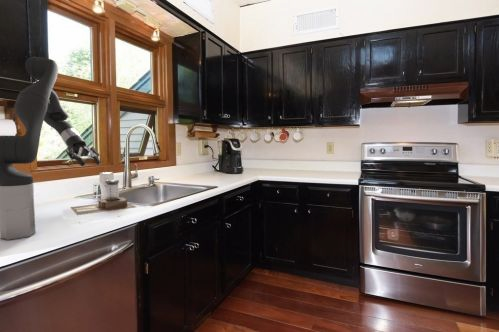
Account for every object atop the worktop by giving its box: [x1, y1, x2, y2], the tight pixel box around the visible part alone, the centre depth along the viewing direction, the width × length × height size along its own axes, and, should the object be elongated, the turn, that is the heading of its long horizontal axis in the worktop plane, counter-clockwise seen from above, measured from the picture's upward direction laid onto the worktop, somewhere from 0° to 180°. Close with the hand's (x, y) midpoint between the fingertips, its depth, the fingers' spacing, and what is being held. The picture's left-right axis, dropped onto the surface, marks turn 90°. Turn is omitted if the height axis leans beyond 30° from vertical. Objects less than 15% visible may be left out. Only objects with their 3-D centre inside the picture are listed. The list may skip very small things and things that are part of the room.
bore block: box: [70, 196, 137, 216], centre depth 131 cm, size 18×24×4 cm
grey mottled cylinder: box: [106, 179, 120, 202], centre depth 134 cm, size 6×6×12 cm
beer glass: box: [99, 171, 115, 199], centre depth 153 cm, size 7×7×15 cm
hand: (91, 164), depth 136 cm, fingers open, 8 cm apart
